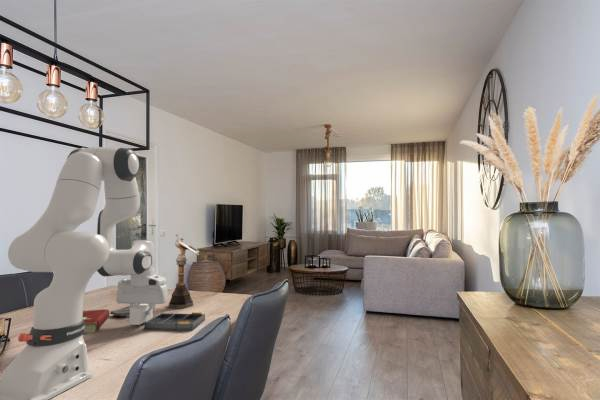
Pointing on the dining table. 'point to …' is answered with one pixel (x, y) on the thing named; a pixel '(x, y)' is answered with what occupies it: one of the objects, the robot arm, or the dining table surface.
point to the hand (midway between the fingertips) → (141, 314)
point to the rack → (175, 321)
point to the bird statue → (181, 278)
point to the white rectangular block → (139, 314)
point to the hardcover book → (94, 319)
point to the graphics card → (125, 311)
